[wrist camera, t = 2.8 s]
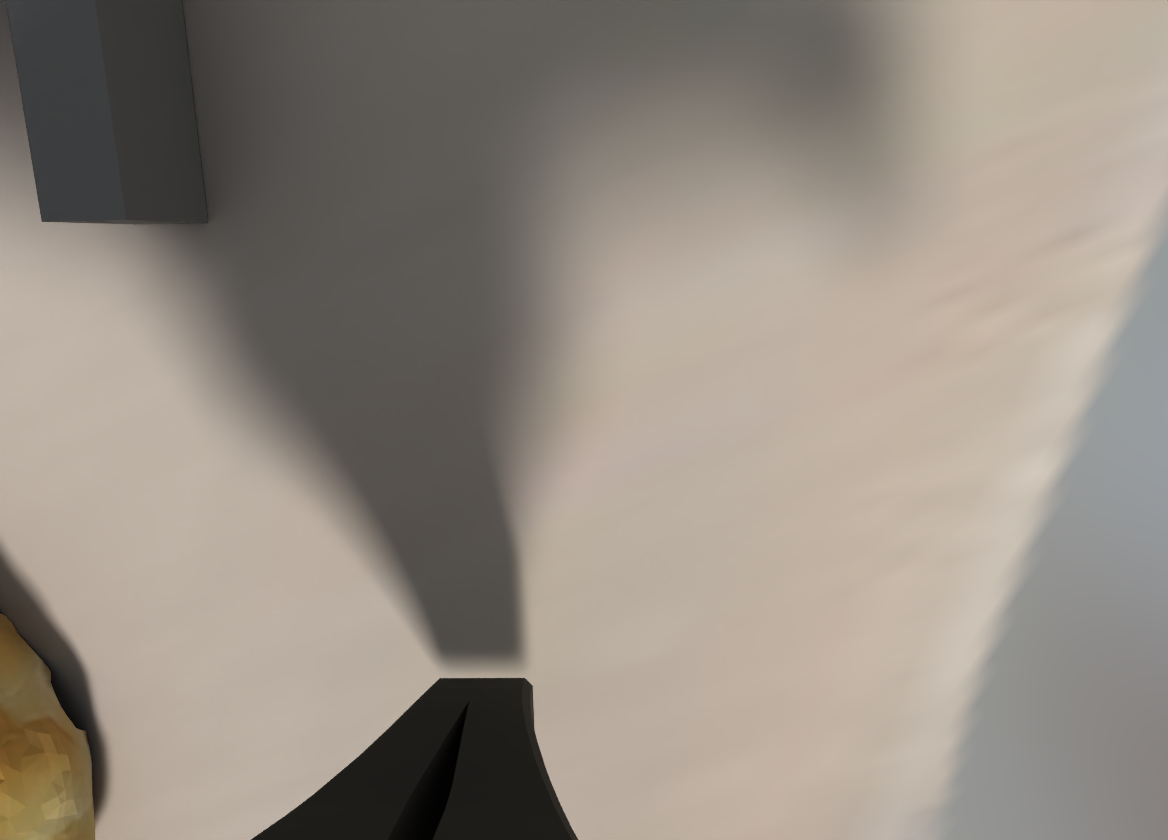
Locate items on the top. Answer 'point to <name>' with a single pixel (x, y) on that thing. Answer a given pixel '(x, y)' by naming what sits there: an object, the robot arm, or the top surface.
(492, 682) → the robot arm
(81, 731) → the pastry
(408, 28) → the top surface
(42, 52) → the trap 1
